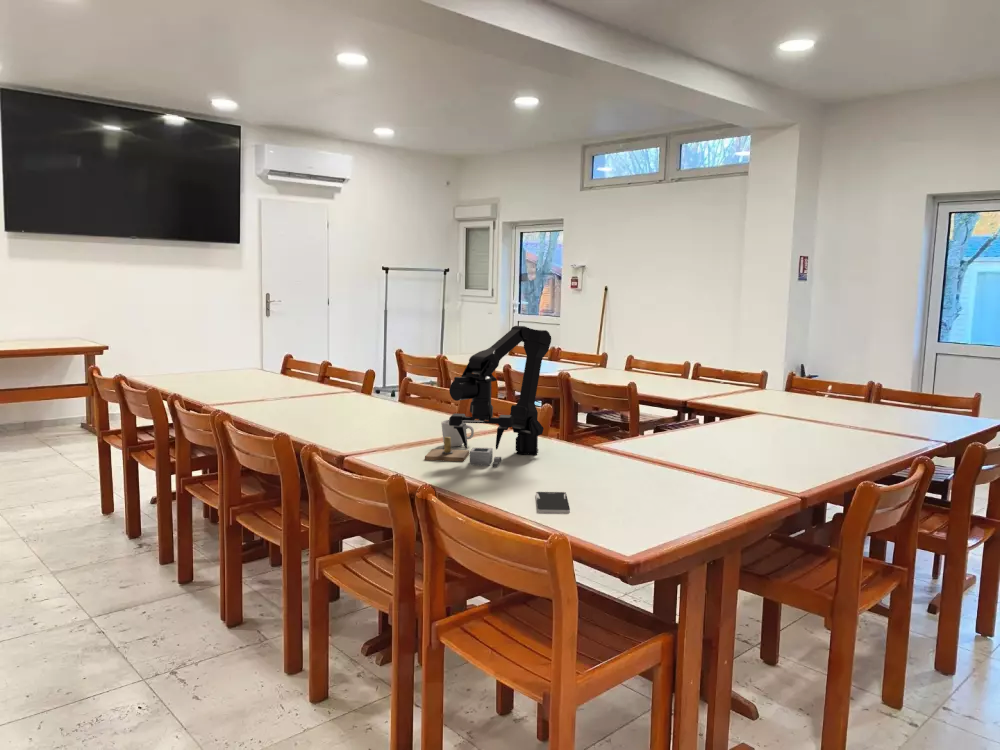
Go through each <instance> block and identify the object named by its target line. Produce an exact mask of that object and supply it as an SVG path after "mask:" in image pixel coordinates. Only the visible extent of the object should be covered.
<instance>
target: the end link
mask: <svg viewBox="0 0 1000 750" xmlns="http://www.w3.org/2000/svg"><path fill="white" fill-rule="evenodd" d="M493 454H494V453H493V447H472V448H471V449H470V450H469V466H481V467H482V466H483V467H484V466H488V467H490V466H491V465H492V464H493V459H494V457H493Z"/></svg>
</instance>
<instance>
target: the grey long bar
mask: <svg viewBox="0 0 1000 750" xmlns="http://www.w3.org/2000/svg"><path fill="white" fill-rule="evenodd" d="M501 461H502V456H494V457H493V461H492V463H491V465H492V468H498V467H499V465H500V463H501Z"/></svg>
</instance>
